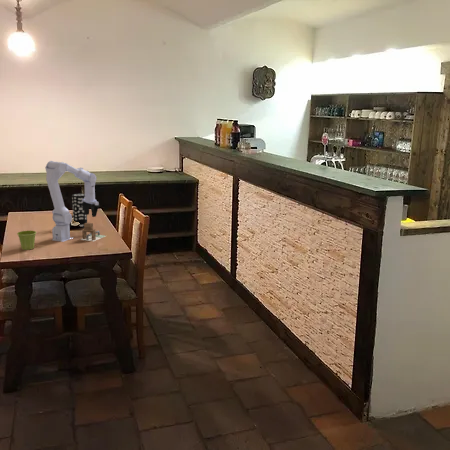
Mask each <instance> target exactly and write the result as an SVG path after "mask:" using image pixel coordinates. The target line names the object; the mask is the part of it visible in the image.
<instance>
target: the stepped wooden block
mask: <svg viewBox="0 0 450 450" xmlns="http://www.w3.org/2000/svg"><path fill="white" fill-rule="evenodd" d="M81 229H82V232H81V233H82V235H81V237H82V238H83V239H86V236H87V235H88V233H91V235H92V240H96V235H97V233H96V231H97V230H96V229H94V223H93V222H87V223H84V228H81ZM96 241H97V240H96Z"/></svg>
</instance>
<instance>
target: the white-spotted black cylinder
mask: <svg viewBox="0 0 450 450" xmlns="http://www.w3.org/2000/svg"><path fill="white" fill-rule="evenodd" d="M82 199H85V193H74V194H72V195H71V200H72V201H71V202H72V203H71V204H72V220H74V221H76V222H79V223H80V225H79V226H80V227H82V228H81V229H84V223H88V215H85V212H84V209H83V207H82V205H81V203H83V202H82Z"/></svg>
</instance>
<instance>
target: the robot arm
mask: <svg viewBox="0 0 450 450" xmlns="http://www.w3.org/2000/svg"><path fill="white" fill-rule="evenodd" d="M44 167H45V172H46V183H47V188H48V190H49V193H50V197H51V200H52V203H53V208H54V209H53V210H52V221H53V222H54V226H53V227H52V230H51V231H52V241H53V242H54V241H55V242H62V243H63V242H66V241H69V240H72V239H74V236H73V237H72V236H71V233H70V232H71V230H70V225H71V223H72V222H73V221H72V220H73V214H71V213H70V210H69V209H68V208H67V207H66V206H65V202H64V199H63V195H62V192H61V188H60V184H59V180H60V179H61V177H62V176H63V175H64V174H65V173H67V172H68V173H70V174H73V175H74V177H75V178H76V179H79V180H82V182H83V183H84V194H85V199H82V202H83V203H81V205H82V207H83V209H84V212H85V215H87V216H88V215H90V212H91V216H92V217H93V218H94V217H95V218H96V217H97V214H98V210H99V208H100V206H101V205H100V203H99V201H97V199H96V192H95V191H96V189H95V186H96V181H97V175H96V174H95V173H93V172H90V171H89V170H85V169H84V167H77V168H76V167H74V166H73V165H71V164H68V163H67V162H64V161H53V160H49V161H48V162H47V164H46V165H45V166H44ZM90 210H91V211H90Z"/></svg>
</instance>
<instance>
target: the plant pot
mask: <svg viewBox="0 0 450 450" xmlns="http://www.w3.org/2000/svg"><path fill="white" fill-rule="evenodd" d="M16 234H17V236H18V239H19V242H20V246H21V249H22V250H24V251H30V250H34V249H35V242H36V241H35V240H36V236H37V235H36V234H37V231H36V230H23V231H22V230H21V231H19V232H17V233H16Z"/></svg>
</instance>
